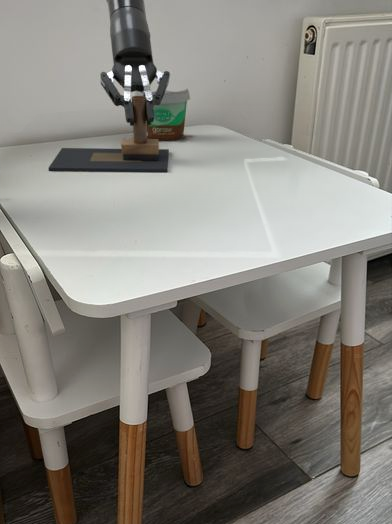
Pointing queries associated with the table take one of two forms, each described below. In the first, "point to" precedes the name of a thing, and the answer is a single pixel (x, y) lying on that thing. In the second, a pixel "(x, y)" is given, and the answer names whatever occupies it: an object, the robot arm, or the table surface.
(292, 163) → the table surface
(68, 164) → the mat
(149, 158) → the brush
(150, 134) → the food container
